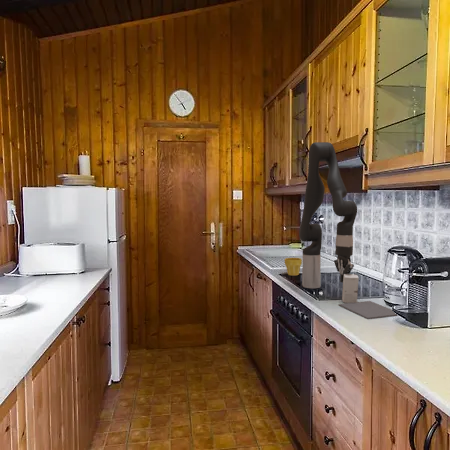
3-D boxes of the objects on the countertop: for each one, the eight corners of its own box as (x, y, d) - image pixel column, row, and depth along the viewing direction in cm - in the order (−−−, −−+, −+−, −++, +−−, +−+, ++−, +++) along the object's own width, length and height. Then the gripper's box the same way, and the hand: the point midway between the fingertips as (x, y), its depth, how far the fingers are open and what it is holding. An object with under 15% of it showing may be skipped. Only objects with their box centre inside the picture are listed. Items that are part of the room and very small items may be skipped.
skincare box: (343, 302, 169) (344, 277, 167) (341, 298, 174) (342, 273, 171) (357, 303, 168) (358, 277, 166) (355, 299, 173) (357, 274, 170)
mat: (338, 305, 166) (338, 304, 166) (370, 302, 170) (370, 300, 170) (367, 319, 146) (367, 317, 146) (402, 315, 151) (402, 313, 151)
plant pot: (281, 274, 233) (281, 259, 232) (290, 272, 240) (290, 256, 240) (296, 277, 226) (296, 260, 225) (305, 274, 233) (305, 258, 233)
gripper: (329, 243, 178) (328, 279, 180) (345, 247, 166) (344, 286, 167) (343, 242, 180) (342, 278, 182) (360, 246, 168) (358, 285, 169)
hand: (343, 282), depth 174 cm, fingers closed
